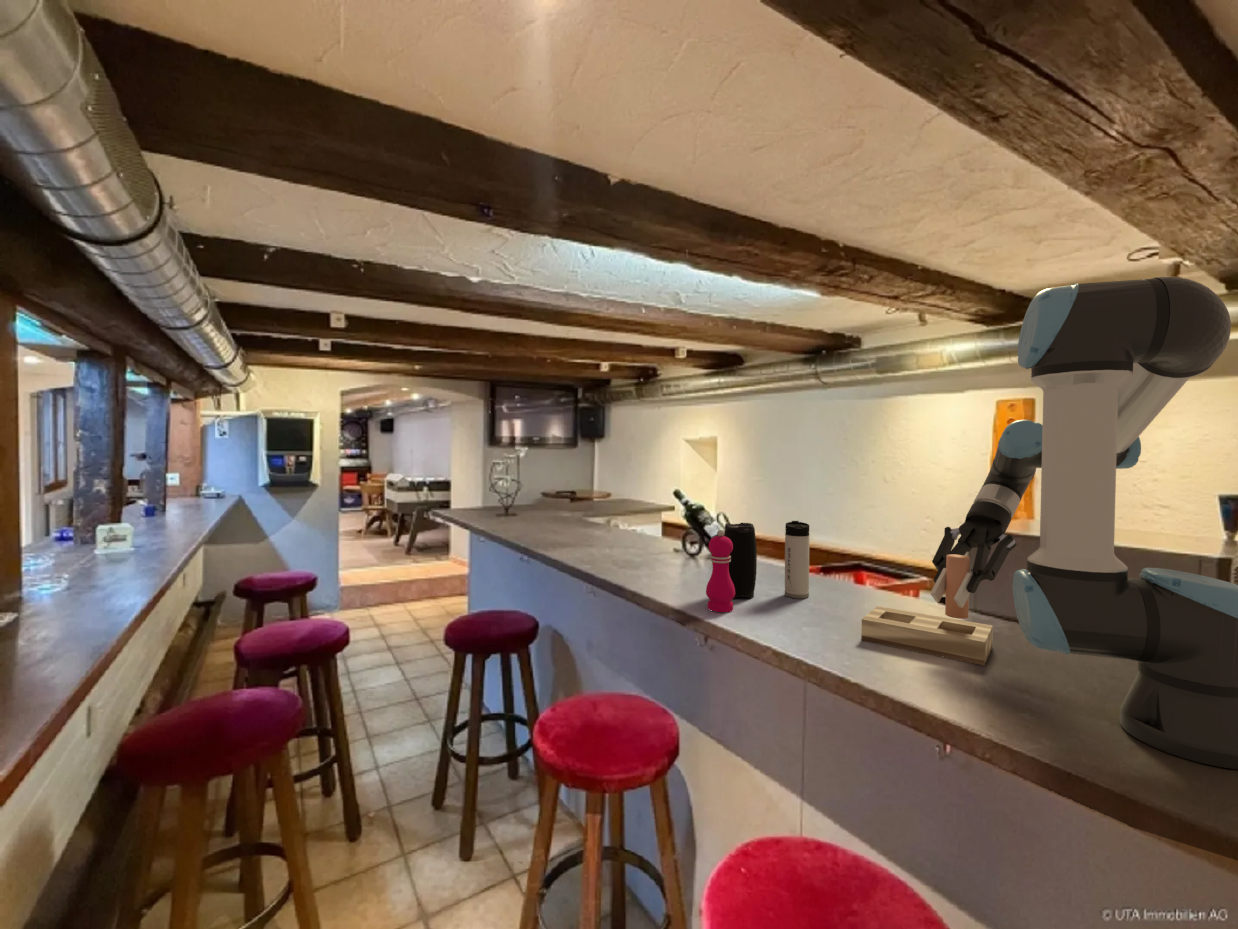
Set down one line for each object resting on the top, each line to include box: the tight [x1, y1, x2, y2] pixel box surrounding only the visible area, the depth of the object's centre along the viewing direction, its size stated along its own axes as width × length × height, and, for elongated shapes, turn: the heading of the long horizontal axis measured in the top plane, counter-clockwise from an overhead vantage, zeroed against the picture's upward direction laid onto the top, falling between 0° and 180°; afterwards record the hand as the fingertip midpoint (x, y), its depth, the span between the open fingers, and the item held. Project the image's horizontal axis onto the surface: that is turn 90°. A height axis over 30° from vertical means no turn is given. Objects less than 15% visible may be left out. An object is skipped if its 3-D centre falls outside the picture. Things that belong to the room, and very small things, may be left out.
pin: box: [944, 554, 971, 620], centre depth 114 cm, size 4×4×12 cm
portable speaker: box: [724, 522, 758, 600], centre depth 154 cm, size 9×9×20 cm
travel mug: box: [784, 520, 810, 600], centre depth 154 cm, size 6×7×20 cm
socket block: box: [860, 605, 994, 666], centre depth 118 cm, size 12×22×4 cm, turn 51°
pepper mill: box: [705, 529, 735, 613], centre depth 142 cm, size 7×7×20 cm
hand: (946, 600), depth 112 cm, fingers closed on pin, 4 cm apart
